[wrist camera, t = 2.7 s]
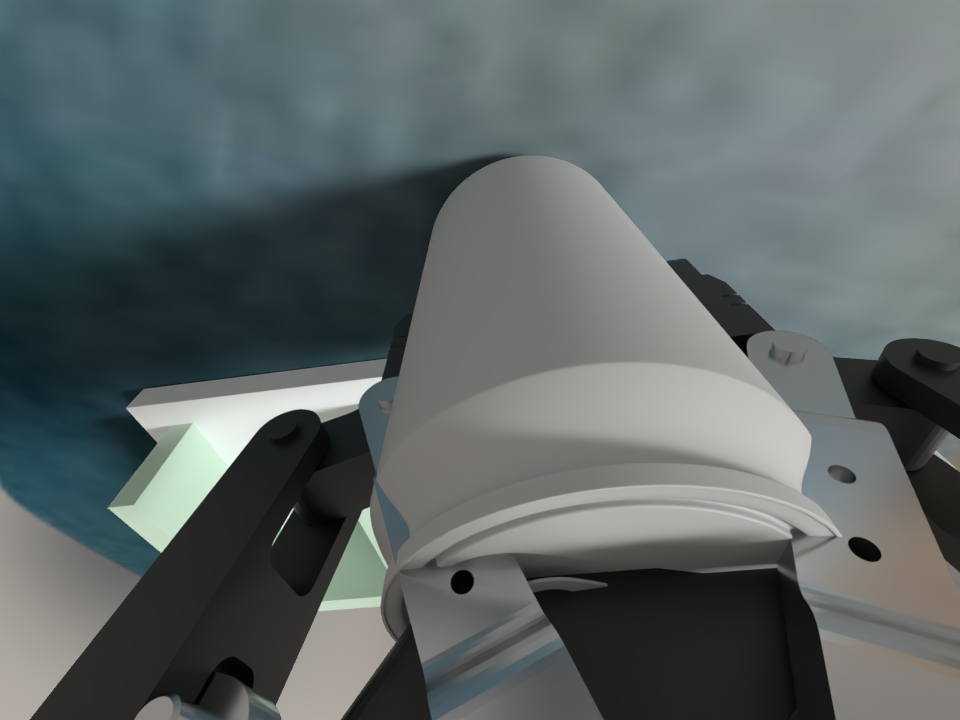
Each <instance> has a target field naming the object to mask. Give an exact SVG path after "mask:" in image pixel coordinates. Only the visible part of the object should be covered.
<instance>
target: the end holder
mask: <svg viewBox="0 0 960 720" xmlns="http://www.w3.org/2000/svg"><path fill="white" fill-rule="evenodd" d="M228 468H229V467H228V466H227V464H226V463H225V462H224V461H223V460H222V458H221V457H220V456H219V455H218V453H217V452H216V451H215V450H214V448H213V447H212V446H211V445H210V443H209V442H208V441H207V440H206V438H205V437H204V436H203V435H202V433H201V432H200V431H199V430H198V428H197V427H196V426H195V425H194V423H188V424H180V425H172V426H171V427H170V428H169V429H168V431H167V432H166V433H165V434H164V436H163V437H162V438H161V440H160V441H159V442H158V444H157V445H156V446H155V447H154V449H153V450H152V451H151V453H150V454H149V455H148V456H147V458H146V459H145V460H144V462H143V463H142V464H141V465H140V467H139V468H138V469H137V471H136V472H135V473H134V474H133V476H132V477H131V478H130V480H129V481H128V482H127V483H126V485H125V486H124V487H123V489H122V490H121V491H120V492H119V494H118V495H117V496H116V498H115V499H114V500H113V501H112V503H111V504H110V505H109V507H108V508H109V509H110V510H111V511H112V512H113V513H115V514H116V515H117V516H118V517H119V518H120V519H122V520H123V521H124V522H125V523H126V524H128V525H129V526H130V527H131V528H132V529H134V530H135V531H136V532H137V533H138V534H139V535H141V536H142V537H143V538H144V539H145V540H147V541H148V542H149V543H150V544H151V545H153V546H154V547H155V548H156V549H157V550H159V551H160V552H161V553H162V552H163V550H164V549H165V548H166V546H167V545H168V544H169V543H170V541H171V540H172V539H173V538H174V536H175V535H176V534H177V532H178V531H179V530H180V529H181V527H182V526H183V525H184V524H185V522H186V521H187V520H188V519H189V517H190V516H191V515H192V513H193V512H194V511H195V510H196V508H197V507H198V506H199V505H200V503H201V502H202V501H203V500H204V498H205V497H206V496H207V494H208V493H209V492H210V491H211V489H212V488H213V487H214V486H215V484H216V483H217V482H218V481H219V479H220V478H221V477H222V475H223V474H224V473H225V472H226V470H227V469H228ZM281 530H282V529H280V531H279V532H278V534H277V536H276V538H275V540H276V539H277V537H278V535H279V534H280V532H281ZM275 540H274V542H275ZM274 542H273V544H274ZM273 544H272V545H273ZM387 569H388V565H387V563H386V561H385V560H384V558H383V556H382V553H381V551H380V549H379V546H378V544H377V541H376V538H375V536H374V533H373V529H372V524H371V518H370V507H369V508H366V509H364V510H362V513H361V515H360V518H359V522H357V524H356V526H355V529H354V531H353V533H352V535H351V538H350V540H349V542H348V544H347V547H346V549H345V551H344V553H343V556H342V558H341V560H340V562H339V565H338V567H337V569H336V571H335V574H334V576H333V578H332V580H331V582H330V585H329V587H328V589H327V591H326V594H325V596H324V598H323V600H322V603H321V605H320V607H319V609H318V611H327V610H339V609H352V608H364V607H377V606H380V605H381V597H382V591H383V585H384V579H385V576H386V572H387Z"/></svg>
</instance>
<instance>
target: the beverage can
mask: <svg viewBox="0 0 960 720" xmlns="http://www.w3.org/2000/svg"><path fill="white" fill-rule="evenodd" d="M811 441H812V437H811V435H810V433H809V432H808V430H807V429H806V427H805V426H804V425H803V423H802V422H801V421H800V419H799V418H798V417H797V415H796V414H795V413H794V412H793V411H792V410H791V408H790V407H789V406H788V405H787V404H786V402H785V401H784V400H783V399H782V398H781V397H780V395H779V394H778V393H777V392H776V391H775V389H774V388H773V387H772V386H771V385H770V384H769V382H768V381H767V380H766V379H765V378H764V377H763V375H762V374H761V373H760V372H759V371H758V369H757V368H756V367H755V366H754V365H753V364H752V362H751V361H750V360H749V359H748V358H747V356H746V355H745V354H744V353H743V352H742V351H741V349H740V348H739V347H738V346H737V345H736V344H735V342H734V341H733V340H732V339H731V338H730V336H729V335H728V334H727V333H726V332H725V331H724V329H723V328H722V327H721V326H720V325H719V323H718V322H717V321H716V320H715V319H714V318H713V316H712V315H711V314H710V313H709V312H708V311H707V309H706V308H705V307H704V306H703V305H702V303H701V302H700V301H699V300H698V299H697V298H696V296H695V295H694V294H693V293H692V292H691V290H690V289H689V288H688V287H687V286H686V285H685V283H684V282H683V281H682V280H681V279H680V278H679V276H678V275H677V274H676V273H675V272H674V270H673V269H672V268H671V267H670V266H669V265H668V263H667V262H666V261H665V260H664V259H663V257H662V256H661V255H660V254H659V253H658V252H657V250H656V249H655V248H654V247H653V246H652V245H651V243H650V242H649V241H648V240H647V239H646V237H645V236H644V235H643V234H642V233H641V232H640V230H639V229H638V228H637V227H636V226H635V224H634V223H633V222H632V221H631V220H630V219H629V217H628V216H627V215H626V214H625V213H624V212H623V210H622V209H621V208H620V207H619V206H618V204H617V203H616V202H615V201H614V200H613V199H612V197H611V196H610V195H609V194H608V193H607V192H606V190H605V189H604V188H603V187H602V186H601V184H600V183H599V182H598V181H597V180H596V179H594V178H593V177H592V176H591V175H590V174H588V173H587V172H586V171H584V170H583V169H581V168H579V167H577V166H575V165H573V164H571V163H569V162H566V161H563V160H560V159H557V158H553V157H547V156H538V155H526V156H517V157H511V158H507V159H503V160H500V161H497V162H494V163H492V164H490V165H487V166H485V167H483V168H482V169H480V170H478V171H476V172H475V173H474V174H472V175H471V176H469V177H468V178H467V179H465V180H464V181H463V182H462V183H461V184H460V185H459V186H458V187H457V188H456V189H455V190H454V191H453V192H452V193H451V195H450V196H449V197H448V199H447V200H446V202H445V203H444V205H443V206H442V208H441V210H440V212H439V214H438V216H437V219H436V221H435V224H434V226H433V230H432V234H431V239H430V243H429V247H428V252H427V256H426V260H425V265H424V269H423V273H422V278H421V282H420V287H419V291H418V295H417V300H416V304H415V308H414V313H413V317H412V321H411V326H410V330H409V334H408V339H407V343H406V347H405V352H404V356H403V360H402V365H401V369H400V373H399V378H398V382H397V386H396V391H395V395H394V399H393V404H392V408H391V412H390V417H389V421H388V426H387V430H386V434H385V439H384V443H383V447H382V452H381V456H380V460H379V465H378V469H377V478H376V480H377V482H378V484H379V485H380V487H381V489H382V490H383V492H384V493H385V495H386V496H387V497H388V499H389V500H390V501H391V502H392V504H393V505H394V506H395V507H396V509H397V510H398V511H399V512H400V514H401V515H402V516H403V518H404V519H405V521H406V523H407V525H408V527H409V530H410V538H409V539H408V540H407V541H406V542H405V543H404V544H403V545H402V546H401V547H400V549H399V550H398V554H397V561H396V565H395V561H394V557H393V553H392V549H391V546H390V542H389V538H388V534H387V530H386V527H385V523H384V519H383V515H382V511H381V507H380V504H379V500H378V496H377V492H376V488H375V484H374V486H373V491H372V496H371V501H370V518H371V524H372V529H373V533H374V536H375V538H376V541H377V544H378V546H379V549H380V551H381V553H382V556H383V558H384V560H385V561H386V563H387V565H388V569H387V572H386V576H385V579H384V585H383V591H382V597H381V605H380V607H381V615H382V620H383V623H384V625H385V627H386V629H387V631H388V632H389V634H390V635H391V637H392V638H393V639H394V640H395V641H396V642H397V641H398V639H399V638H400V636H401V635H402V634H403V632H404V631H405V629H406V628H407V627H408V625H409V624H410V618H409V614H408V611H407V607H406V603H405V599H404V595H403V592H402V588H401V584H400V580H399V576H398V572H400V571H401V570H407V569H415V568H421V567H423V566H424V565H425V564H426V563H428V562H429V561H430V560H431V559H433V558H436V560H437V566H439V567H443V566H452V565H455V564H457V563H460V562H462V561H465V560H468V559H471V558H475V557H479V556H484V555H489V554H499V553H513V555H514V557H515V559H516V561H517V563H518V565H519V567H520V568H521V570H522V572H523V574H524V576H525V578H531V577H545V576H558V575H571V574H584V573H597V572H610V571H623V570H636V569H650V568H662V569H671V570H679V571H688V572H697V573H711V572H724V571H738V570H752V569H765V568H778V567H777V562H778V561H779V559H780V557H781V555H782V554H783V552H784V550H785V548H786V546H787V545H788V543H789V541H790V539H791V538H792V534H791V533H790V529H792V528H797V529H799V530H800V531H802V532H803V533H804V534H806V535H808V536H836V537H843V536H842V535H841V533H840V532H839V531H838V529H837V528H836V526H835V525H834V524H833V522H832V521H831V520H830V518H829V517H828V515H827V514H826V513H825V512H824V511H823V509H822V508H821V507H820V506H819V505H818V504H817V503H815V502H814V501H812V500H811V499H809V498H808V497H806V496H805V495H803V494H802V490H801V489H802V480H803V476H804V473H805V470H806V467H807V463H808V460H809V456H810V450H811ZM527 582H528V584H529V586H530V588H531V590H532V592H533V593H534V592H538V591H542V590H549V589H561V590H568V591H580V590H586V589H593V588H600V587H607V583H602V582H596V581H591V580H585V579H579V578H570V577H550V578H542V579H536V580H531V581H527Z"/></svg>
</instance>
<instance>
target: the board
mask: <svg viewBox="0 0 960 720" xmlns="http://www.w3.org/2000/svg"><path fill="white" fill-rule="evenodd" d="M386 361H387V359H379V360H371V361H363V362H355V363H347V364H339V365H331V366H323V367H315V368H307V369H299V370H291V371H283V372H275V373H267V374H259V375H251V376H243V377H235V378H227V379H219V380H211V381H203V382H195V383H187V384H179V385H171V386H163V387H155V388H148V389H143V390H142V391H141V392H140V393H139V395H138V396H137V397H136V398H135V399H134V400H133V401H132V402H131V403H130V404H129V405H128V406H127V407H126V409H127V410H128V411H129V412H130V413H131V414H132V415H133V417H134V418H135V419H136V420H137V421H138V422H139V423H140V424H141V425H142V426H143V428H144V429H145V430H146V431H147V432H148V433H149V434H150V435H151V436H152V437H153V438H154V440H155V441H156V442H157V443H158V442H159V441H160V440H161V438H162V437H163V436H164V434H165V433H166V432H167V431H168V429H169V428H170V427H171V426H172V425H180V424H188V423H194V425H195V426H196V427H197V428H198V430H199V431H200V432H201V433H202V435H203V436H204V437H205V438H206V440H207V441H208V442H209V443H210V445H211V446H212V447H213V448H214V450H215V451H216V452H217V453H218V455H219V456H220V457H221V458H222V460H223V461H224V462H225V463H226V464H227V466H228V467H230V465H231V464H232V463H233V461H234V460H235V459H236V458H237V456H238V455H239V454H240V453H241V451H242V450H243V449H244V448H245V446H246V445H247V444H248V442H249V441H250V440H251V439H252V437H253V436H254V435H255V434H256V432H257V431H258V430H259V429H260V428H261V427H262V426H263V425H264V424H265V423H267V422H268V421H269V420H271V419H273V418H274V417H276V416H278V415H280V414H282V413H285V412H288V411H292V410H297V409H306V410H311V411H313V412H315V413H316V414H317V415H318V416H319V418H320V420H321V422H322V423H323V422H326V421H328V420H331V419H334V418H337V417H340V416H343V415H345V414H348V413H351V412H353V411H355V410H357V409H359V407H358V406H359V401H360V398H361V397H362V395H363V394H364V393H365V391H366V390H368V389H369V388H370V387H371V386H373V385H374V384H376V383H378V382H380V381H381V380H382V376H383V372H384V369H385V365H386ZM293 510H294V509H292V510H291V512H290V514H289V516H288V517H287V519H286V521H285V522H284V524H283V526H282V527H281V529H282V528H283V527H284V525H285V523H286V522H287V520H288V518H289V517H290V515H291V513H292V511H293ZM358 522H359V520H358Z"/></svg>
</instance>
